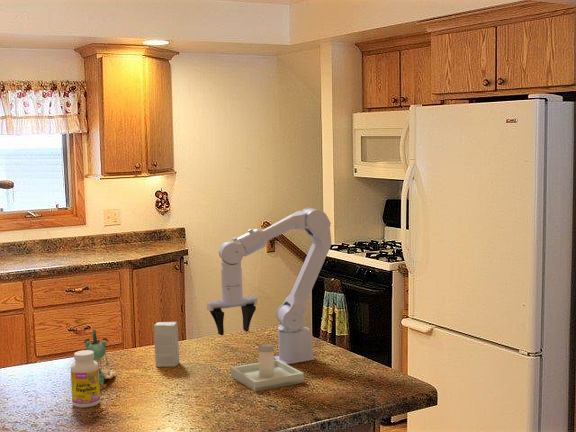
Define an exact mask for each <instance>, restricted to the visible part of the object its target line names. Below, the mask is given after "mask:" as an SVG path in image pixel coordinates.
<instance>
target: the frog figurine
mask: <svg viewBox="0 0 576 432" xmlns="http://www.w3.org/2000/svg"><path fill="white" fill-rule="evenodd" d="M97 337H98V335H97V330H96V329H92V340H90V339H89V338H87V339H85V340H84V342H83V344H84V347H85V348H86V350H91V351H94V358H93V360H94V361H96V362H97V363H98V365H99V366H100V365H102V361H101V360H102V359H103V358H104V356H105V362H106V366H109V362H108V358H107V357H108V356H107V353H106V347H107V343H109V339H108V338H107V337H103V338H102V341H100V339H98V338H97ZM115 375H116V371H114V369H103V366H100V368H99V384H100V390H103V389H105V388H107V385H108V383H105V380H107V379H110V380H111V379H112V378H113V377H114V376H115Z"/></svg>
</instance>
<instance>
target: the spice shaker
mask: <svg viewBox="0 0 576 432" xmlns="http://www.w3.org/2000/svg"><path fill="white" fill-rule="evenodd" d="M257 350H258V363H259V377H262V378H270V377H273V376H274V360H275V359H274V356H275V344H272V343H261V344H260V343H259V344H258V347H257Z"/></svg>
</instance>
